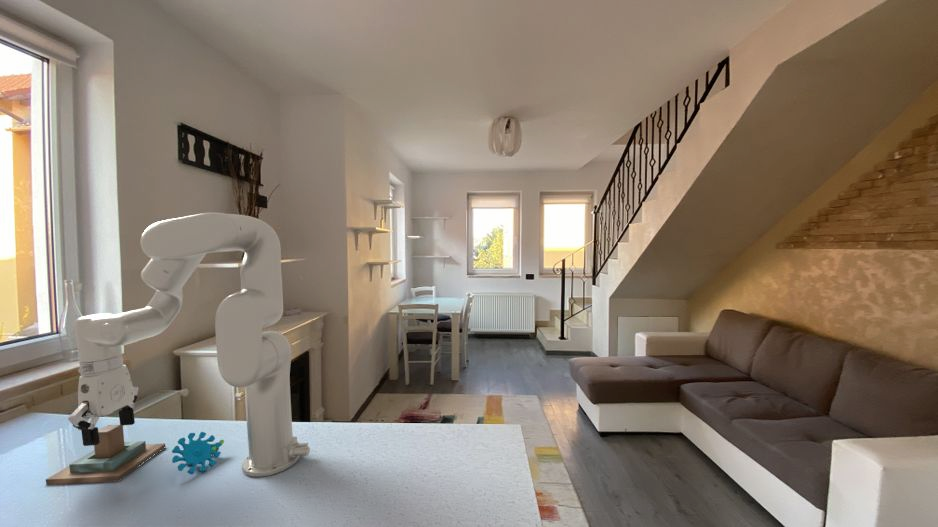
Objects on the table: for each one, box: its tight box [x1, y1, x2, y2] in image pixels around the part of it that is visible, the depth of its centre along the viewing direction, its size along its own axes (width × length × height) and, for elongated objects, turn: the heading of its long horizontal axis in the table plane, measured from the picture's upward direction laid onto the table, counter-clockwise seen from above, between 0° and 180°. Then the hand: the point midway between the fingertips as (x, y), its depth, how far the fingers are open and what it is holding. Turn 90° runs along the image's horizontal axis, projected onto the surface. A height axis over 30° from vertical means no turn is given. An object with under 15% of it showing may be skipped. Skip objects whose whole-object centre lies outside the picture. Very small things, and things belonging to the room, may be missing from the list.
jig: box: [45, 440, 166, 485], centre depth 94 cm, size 16×14×3 cm
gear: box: [171, 431, 225, 475], centre depth 93 cm, size 11×6×10 cm
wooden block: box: [93, 424, 125, 459], centre depth 94 cm, size 4×4×8 cm
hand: (110, 434), depth 94 cm, fingers open, 9 cm apart
